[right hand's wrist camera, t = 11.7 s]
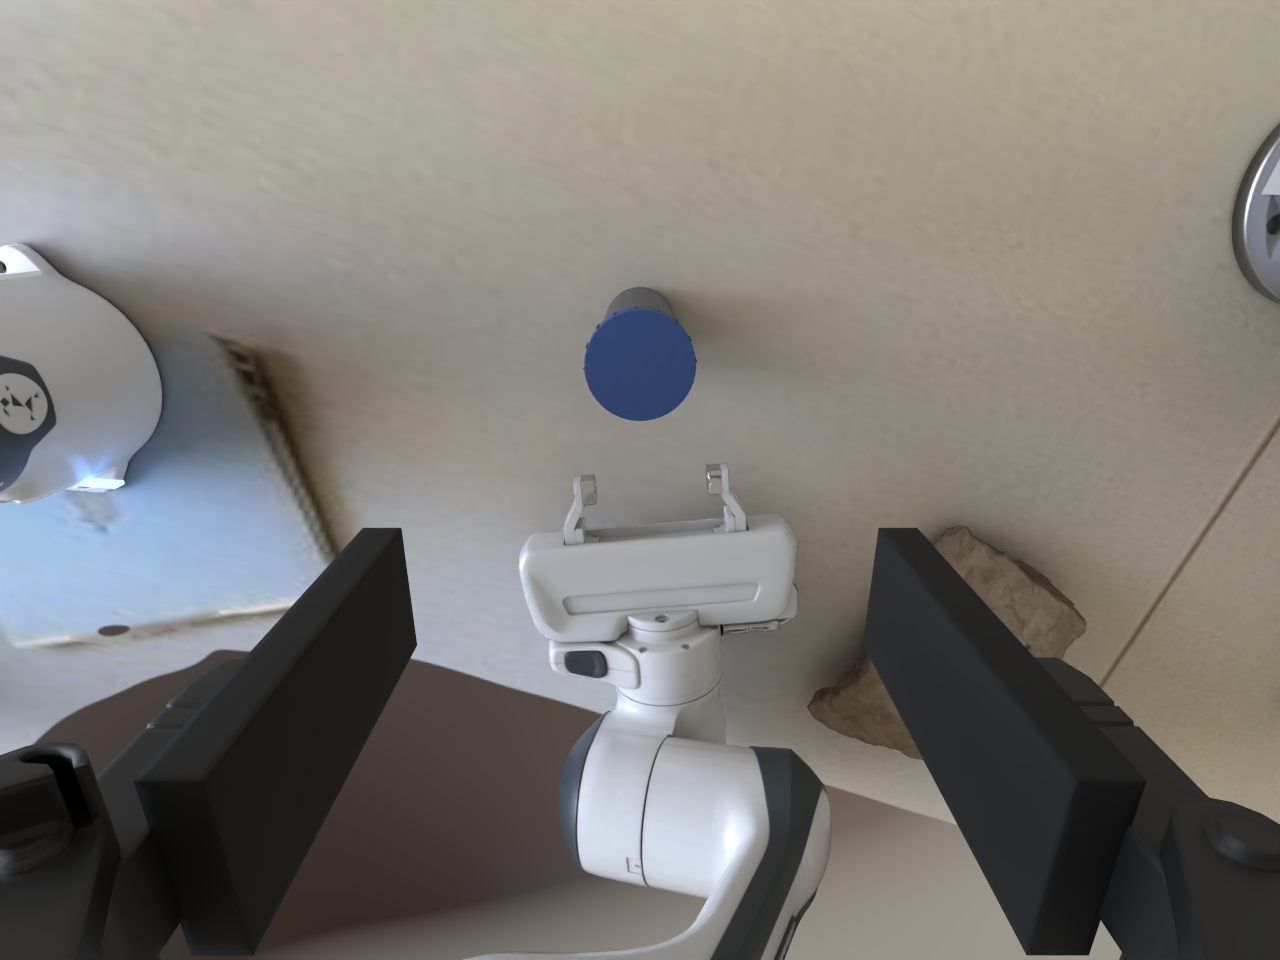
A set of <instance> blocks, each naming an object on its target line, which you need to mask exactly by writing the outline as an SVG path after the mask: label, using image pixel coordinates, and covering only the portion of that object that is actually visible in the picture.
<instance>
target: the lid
mask: <svg viewBox="0 0 1280 960" xmlns="http://www.w3.org/2000/svg"><path fill="white" fill-rule="evenodd" d="M691 341H692V340H691V338H690V336H688V335H687V333H686V332H685V330H684V329H683V327H682V326H681V325H680V324H679V322H678V320H677V319H674V318H673V317H671V316H670V315H668V314H667V313H665V312H663V311H661V310H659V308H657V309H655V308H651V307H642V306H637V305H635V307H629V308H625V309H622V310H619V311H617V312H616V311H614V313H613V314H612V315H610V316H609V317H607V318H606V319H605V320H604V321H603V322H602V323H601V324H600V325H599V324H598V325H597V327H596V330H595V332H594V333H593V335H592V337H591V340H590V342H589V343H587V345H586V349H587V350H586V354H585V360H584V370H585V377H586V381H587V384H588V386H589V389H590V391H591V393H592V394H593V396H594V397H595V399H596V400H597V401H598V402H599V403H600V404H601V405H602V406H603V407H604V408H605V409H606V410H608V411H609V412H611V413H612V414H614V415H616V416H619V417H621V418H624V419H628V420H635V421H645V420H652V419H656V418H659V417H661V416H664V415H666V414H668V413H669V412H671V411H672V410H674V409H675V408H676V407H677V406H678V405H679V404H680V403H681V402H682V401H683V400H684V399H685V397H686V396H687V394H688V393H689V391H690V389H691V387H692V384H693V381H694V377H695V370H696V362H697V360H696V358H695V354H694V350H693V347H692V344H691Z"/></svg>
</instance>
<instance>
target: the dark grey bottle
mask: <svg viewBox="0 0 1280 960" xmlns="http://www.w3.org/2000/svg"><path fill="white" fill-rule="evenodd" d="M635 305H637V306H642V307H651V308H655V309H657V308H659V310H661V311H663V312H665V313H667V314H668V315H670V316H671V317H673V318H674V319H675V316H674V314H673V311H672V308H671V306H670V304H669V303H668V301H667V300H666V299H665V298H664V297H663V296H662V295H661V294H659V293H658V292H656V291H654V290H652V289H649V288H643V287H637V288H631V289H628V290H626V291H624V292H622V293H621V294H619V295H618V296H617V297H616V298H615V299H614V300H613V301H612V303H611V304H610V306H609V309H608V311H607V314H606V316H605V319H606V318H607V317H609V316H610V315H612V314H613V313H614V311H616V312H617V311H619V310H622V309H625V308H629V307H635ZM605 319H604V320H605Z"/></svg>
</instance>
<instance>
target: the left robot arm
mask: <svg viewBox="0 0 1280 960" xmlns="http://www.w3.org/2000/svg"><path fill="white" fill-rule="evenodd" d="M3 263H4V264H5V265H6V267H7V271H6V270H5V269H4V267H3ZM161 409H162V385H161V379H160V375H159V371H158V368H157V365H156V362H155V360H154V358H153V355H152V353H151V351H150V349H149V347H148V346H147V344H146V342H145V341H144V339H143V337H142V336H141V335H140V333H139V332H138V331H137V329H136V328H135V327H134V325H133V324H132V323H131V322H130V321H129V320H128V319H127V318H126V317H125V316H124V315H123V314H122V313H121V312H120V311H119V310H118V309H117V308H116V307H114V306H113V305H112V304H111V303H109V302H108V301H107V300H105V299H104V298H102V297H101V296H99V295H98V294H96V293H94V292H92V291H91V290H89V289H87V288H85V287H83V286H81V285H78V284H76V283H74V282H72V281H70V280H69V279H67V278H65V277H64V276H62V275H61V274H59V273H58V272H57V271H56V270H55V269H54V268H53V267H52V266H51V265H50V264H49V263H48V262H47V261H46V260H45V259H44V258H43V257H42V256H40V255H39V254H38V253H37V252H36V251H34V250H33V249H32V248H30V247H28V246H26V245H24V244H11V245H5V246H1V247H0V503H7V502H10V501H16V502H17V503H19V504H24V503H29V502H33V501H36V500H38V499H41V498H43V497H46V496H49V495H51V494H54V493H56V492H59V491H62V490H64V489H68V490H78V491H88V492H98V493H103V492H107V491H110V490H113V489H116V488H118V487H120V486H122V485H124V480H123V479H124V476H125V473H126V470H127V466H128V462H129V460H130V459H131V457H132V456H133V455H134V454H135V453H136V452H137V451H138V450H139V449H140V448H141V447H142V446H143V445H144V444H145V443H146V442H147V441H148V440H149V438H150V437H151V435H152V434H153V432H154V430H155V428H156V426H157V424H158V421H159V418H160V414H161ZM706 474H707V477H706V481H707V489H708V493H709V495H718V494H720V495H721V496H722V498H723V499H724V501H725V502H726V504H727V505H728V506H724V507H723V508H724V518H716V519H703V520H691V521H678V522H665V523H653V524H640V525H628V526H615V527H603V528H590V529H586V523H585V518H584V517H580V516H581V513H582V511H583V509H584V507H585V505H593V504H596V502H597V487H596V485H595V484H596V477H595V474H593V475H577V476H575V477H574V494H575V501H574V503H573V505H572V507H571V509H570V511H569V514H568V516H567V518H566V522H565V526H564V531H552V532H539V533H534V534H532V535H531V536H530V537H529V538H528V540H527V541H526V543H525V544H524V546H523V548H522V550H521V553H520V557H519V571H520V576H521V581H522V586H523V590H524V594H525V597H526V601H527V604H528V607H529V610H530V613H531V616H532V619H533V621H534V623H535V625H536V627H537V629H538V630H539V631H540V632H541V633H542V634H543V635H544V636H545V637H546V638H548V639H550V647H549V650H550V664H551V667H552V668H553V670H555V671H556V672H559V673H562V674H567V675H572V676H577V677H582V678H587V679H592V680H596V681H600V682H604V683H608V684H611V685H614V686H615V688H616V690H617V696H618V700H617V704H616V708H615V709H614V710H613V711H611V712H610V711H607V712H606V713H605V714H603V715H602V716H601V717H600V718H599V719H598V720H597V721H596V722H595V723H594V724H593V725H592V726H591V727H590V728H589V729H588V730H587V731H586V732H585V733H584V734H583V735H582V736H581V737H580V738H579V739H578V741H577V742H576V743H575V745H574V746H573V748H572V749H571V751H570V753H569V755H568V757H567V759H566V762H565V764H564V767H563V770H562V773H561V779H560V786H559V815H560V823H561V827H562V831H563V834H564V838H565V840H566V843H567V846H568V848H569V851H570V853H571V855H572V857H573V858H574V860H575V862H576V863H577V865H578V866H579V867H580V868H581V869H582V870H583V871H584V872H589V873H592V874H594V875H597V876H601V877H606V878H610V879H614V880H618V881H623V882H627V883H632V884H636V885H641V886H646V887H654V888H659V889H664V890H668V891H673V892H678V893H682V894H687V895H692V896H696V897H701V898H705V899H708V900H707V902H706V903H705V905H704V907H703V908H702V910H701V912H700V914H699V915H698V917H697V919H696V920H695V922H694V923H693V925H692V926H691V927H689V928H688V929H687V930H686V931H685V932H683V933H682V934H680V935H679V936H677V937H674V938H672V939H670V940H668V941H665V942H662V943H659V944H655V945H651V946H647V947H642V948H635V949H627V950H617V951H603V952H573V953H560V952H520V951H516V952H500V953H491V954H486V955H480V956H475V957H471V958H467V959H464V960H784V959H785V956H786V954H787V951H788V948H789V946H790V943H791V941H792V938H793V936H794V933H795V931H796V928H797V926H798V924H799V922H800V920H801V918H802V916H803V915H804V913H805V912H806V910H807V909H808V907H809V906H810V905H811V903H812V901H813V899H814V897H815V895H816V892H817V888H818V886H819V884H820V882H821V880H822V878H823V875H824V873H825V870H826V866H827V863H828V859H829V853H830V846H831V814H830V807H829V802H828V799H827V793H826V788H825V786H824V785H823V783H822V782H821V780H820V779H819V778H818V777H817V775H816V774H815V773H814V772H813V771H812V769H811V768H810V767H809V766H808V765H807V764H806V763H805V762H804V761H803V760H802V759H801V758H800V757H799V756H798V755H797V754H796V753H795V752H794V751H792V750H791V749H788V748H772V747H756V746H750V747H749V748H747V747H740V746H733V745H726V722H725V710H724V706H723V703H722V700H721V698H720V695H719V689H720V686H721V682H722V677H723V664H722V644H721V643H722V642H721V636H722V635H726V634H740V633H745V632H751V631H774V630H777V629H779V625H782V624H785V623H787V622H789V621H790V620H791V619H792V618H793V617H795V615H796V613H797V609H798V589H797V586H796V584H795V583H794V582H793V581H794V574H795V566H796V555H797V541H796V537H795V534H794V532H793V529H792V528H791V526H790V525H789V524H788V522H787V521H786V520H785V519H783V518H782V517H781V516H780V515H778V514H766V515H753V516H746V514H745V511H744V508H743V506H742V503H741V502H740V501H739V499H738V498H737V496H736V495H735V494H734V492H733V491H732V489H731V488H730V486H729V472H728V467H727V465H726V463H724V464H712V465H706ZM779 619H780V620H779Z"/></svg>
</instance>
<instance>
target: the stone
mask: <svg viewBox="0 0 1280 960" xmlns="http://www.w3.org/2000/svg"><path fill="white" fill-rule="evenodd" d="M934 547H935V548H936V549H937V551H938V552H939V553H940V554H941V555H942V556H943V557H944V558H945V559H946V560H947V562H948V563H949V564H950V565H951V566H952V567H953V568H954V569H955V570H956V571H957V573H958V574H959V575H960V576H961V577H962V578H963V579H964V580H965V581H966V582H967V584H968V585H969V586H970V587H971V588H972V589H973V590H974V591H975V592H976V593H977V595H978V596H979V597H980V598H981V599H982V600H983V601H984V602H985V603H986V604H987V606H988V607H989V608H990V609H991V610H992V611H993V612H994V613H995V614H996V616H997V617H998V618H999V619H1000V620H1001V621H1002V622H1003V623H1004V624H1005V625H1006V627H1007V628H1008V629H1009V630H1010V631H1011V632H1012V633H1013V634H1014V635H1015V636H1016V638H1017V639H1018V640H1019V641H1020V642H1021V643H1022V644H1023V645H1024V646H1025V647H1026V649H1027V650H1028V651H1029V652H1030V653H1031V654H1032V655H1033V656H1034V657H1057V658H1059V659H1062V658H1063V656H1064V653H1065V651H1066V649H1067V648H1068V646H1069V645H1070V644H1071V643H1072V642H1073V641H1074V640H1075V639H1076V638H1078V637H1080V636H1081V635H1082V634H1083V633H1084V632H1085V629H1086V622H1085V619H1084V618H1083V617H1082V616H1081V615H1080V614H1079V612H1078V611H1077V610H1076V609H1075V608H1074V604H1073V603H1072V601H1070V600H1069V599H1068V598H1067V597H1065V596H1064V595H1063V594H1062V593H1061V592H1060V591H1059V590H1057V589H1056V588H1055V587H1054V586H1053V585H1052V584H1051V583H1050V581H1049V580H1048V579H1047V578H1046V577H1045V576H1043V575H1042V574H1040V573H1039V572H1037V571H1036V570H1034V569H1033V568H1032V567H1030V566H1029V565H1027V564H1025V563H1024V562H1021V561H1016V560H1012V559H1011V558H1010V557H1009V555H1006V554H1005V553H1004V552H1000V551H997V550H996V549H995V548H993V547H992V546H990V545H989V544H986V543H984V542H982V541H981V540H979V539H977V538H975V537H974V536H972V534H971V531H970V530H969V529H968V527H966V526H957V527H953V528H949V529H948V530H947V531H946V532H945V534H944V536H943V537H941V538H940V539H939V540H938V541H937V542H936V544H935V545H934ZM807 708H808V710H809V711H810V712H811V714H812V715H813V717H814V718H815V719H817V720H818V721H820V722H821V723H823V724H825V725H826V726H827V727H828V728H829V729H832V730H835V731H837V732H838V733H840V734H842V735H845V736H848V737H851V738H857V739H859V740H861V741H863V742H864V743H869V744H872V745H874V746H875V745H880V746H885V747H888V748H891V749H896V750H899V751H901V752H902V753H904V754H905V755H907V756H908V757H911V758H915V759H921V760H923V758H922V756H921V754H920V752H919V750H918V748H917V747H916V745H915V743H914V741H913V739H912V737H911V735H910V733H909V731H908V730H907V728H906V726H905V724H904V722H903V720H902V718H901V716H900V714H899V712H898V711H897V709H896V707H895V705H894V703H893V701H892V699H891V697H890V695H889V694H888V692H887V690H886V688H885V686H884V684H883V682H882V680H881V678H880V676H879V675H878V673H877V671H876V669H875V667H874V665H873V663H872V661H871V659H870V658H869V656H868V654H866V657H865V658H863V659H861V660H860V661H858V662H857V663H856V665H855V666H854V670H853V671H850V672H847V673H846V674H845V675H843V676H842V677H840V678H839V679H838V681H837V683H836V685H835V686H833V687H829V688H822V689H820V690H818V691H816V693H815V694H814V696H813V699H812V701H811V702H810V703H809V705H808V707H807Z"/></svg>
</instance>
